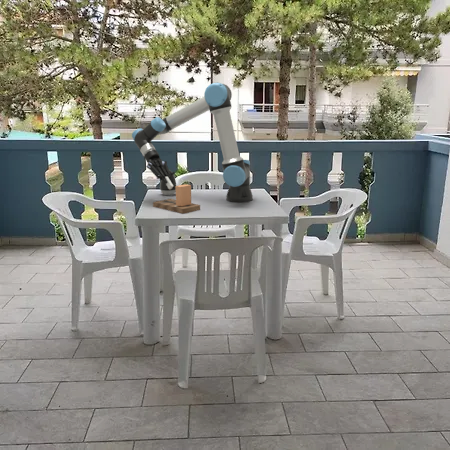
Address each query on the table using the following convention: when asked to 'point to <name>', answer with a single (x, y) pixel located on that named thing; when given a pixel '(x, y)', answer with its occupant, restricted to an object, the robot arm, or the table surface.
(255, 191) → the table surface
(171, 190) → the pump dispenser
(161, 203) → the fader board
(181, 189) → the fader knob
